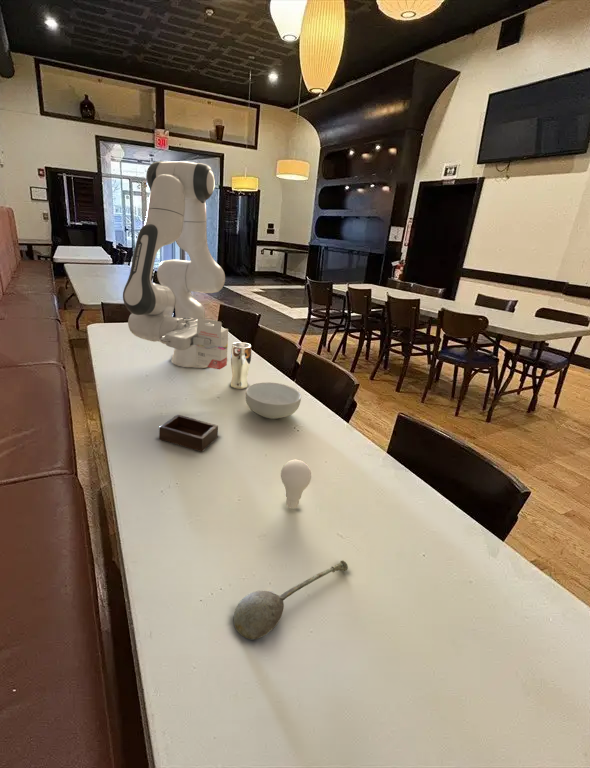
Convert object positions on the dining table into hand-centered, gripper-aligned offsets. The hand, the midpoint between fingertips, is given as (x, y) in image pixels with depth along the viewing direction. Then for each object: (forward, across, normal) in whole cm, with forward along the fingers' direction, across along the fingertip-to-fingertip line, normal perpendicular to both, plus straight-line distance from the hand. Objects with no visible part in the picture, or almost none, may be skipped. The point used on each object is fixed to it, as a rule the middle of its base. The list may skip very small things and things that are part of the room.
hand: (215, 339), depth 124 cm
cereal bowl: (+20, +2, +20) cm, 28 cm away
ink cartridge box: (-1, 0, +8) cm, 9 cm away
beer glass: (+2, +17, +21) cm, 27 cm away
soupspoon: (+46, -59, +20) cm, 78 cm away
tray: (+6, -24, +20) cm, 32 cm away
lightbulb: (+39, -38, +20) cm, 58 cm away
